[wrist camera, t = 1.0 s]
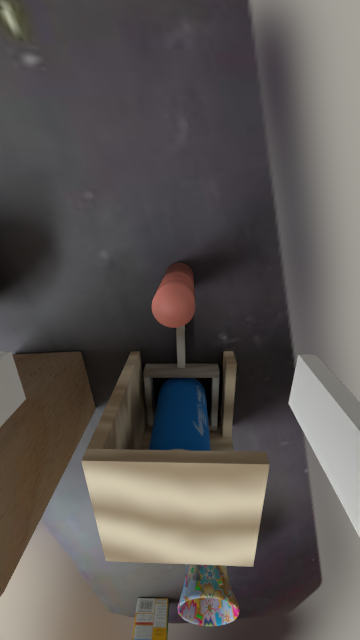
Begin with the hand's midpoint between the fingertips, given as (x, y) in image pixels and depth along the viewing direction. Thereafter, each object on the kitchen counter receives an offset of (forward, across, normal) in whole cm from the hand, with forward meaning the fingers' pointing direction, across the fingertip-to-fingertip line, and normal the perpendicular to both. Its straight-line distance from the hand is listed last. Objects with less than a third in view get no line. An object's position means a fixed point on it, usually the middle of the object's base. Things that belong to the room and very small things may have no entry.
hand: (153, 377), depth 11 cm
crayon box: (+18, -6, -76) cm, 79 cm away
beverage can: (+19, +1, -16) cm, 25 cm away
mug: (+19, +5, -49) cm, 53 cm away
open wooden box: (+19, +1, -16) cm, 24 cm away
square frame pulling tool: (+18, +1, -9) cm, 21 cm away
